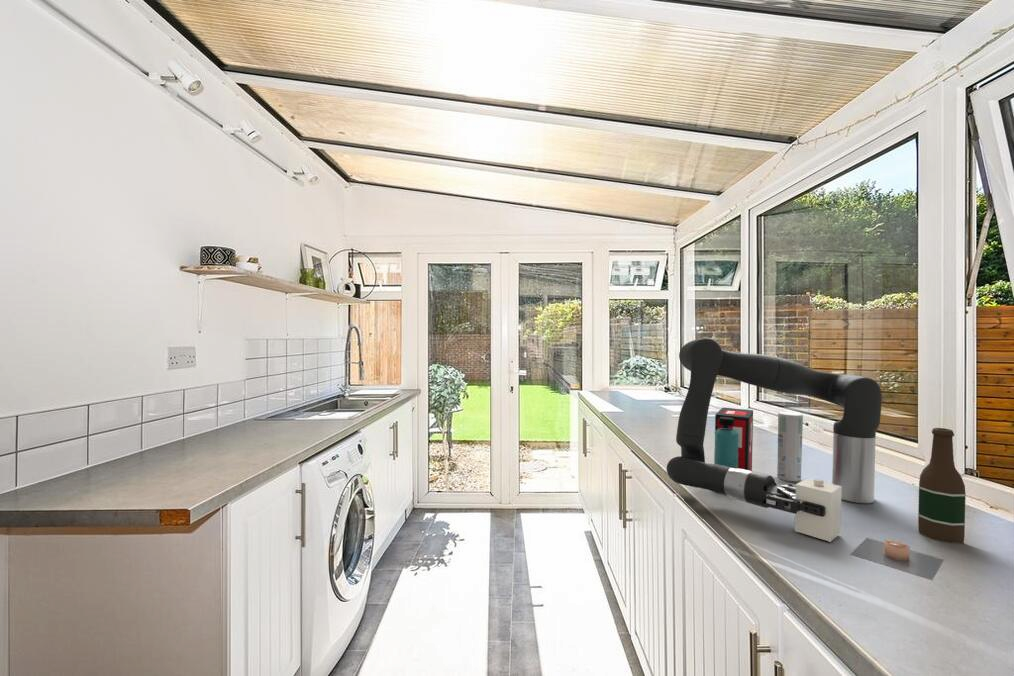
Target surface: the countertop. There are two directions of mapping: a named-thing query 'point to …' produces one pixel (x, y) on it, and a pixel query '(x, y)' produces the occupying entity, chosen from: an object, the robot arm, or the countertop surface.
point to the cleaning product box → (740, 433)
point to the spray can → (789, 446)
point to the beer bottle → (942, 493)
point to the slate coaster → (915, 565)
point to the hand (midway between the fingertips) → (830, 507)
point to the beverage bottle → (726, 444)
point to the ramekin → (896, 550)
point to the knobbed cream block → (821, 495)
